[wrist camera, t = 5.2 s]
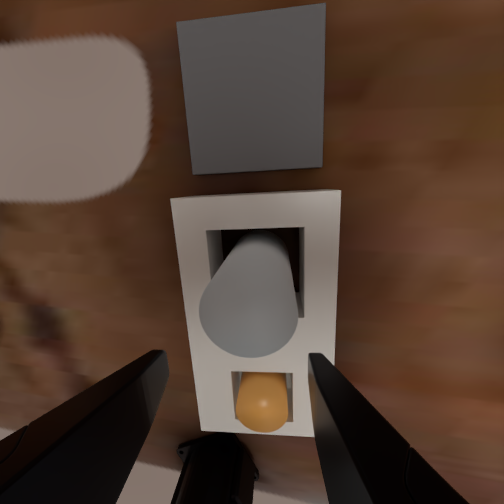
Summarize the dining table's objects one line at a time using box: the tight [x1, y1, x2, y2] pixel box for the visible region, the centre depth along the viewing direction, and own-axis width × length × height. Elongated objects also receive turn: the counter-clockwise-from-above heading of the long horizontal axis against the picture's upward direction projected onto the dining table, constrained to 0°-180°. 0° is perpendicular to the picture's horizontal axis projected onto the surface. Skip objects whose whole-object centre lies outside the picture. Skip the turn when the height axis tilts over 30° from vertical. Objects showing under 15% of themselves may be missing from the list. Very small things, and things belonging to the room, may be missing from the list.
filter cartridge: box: [199, 230, 298, 358], centre depth 15 cm, size 4×4×9 cm
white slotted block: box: [170, 189, 341, 437], centre depth 19 cm, size 10×18×4 cm, turn 3°
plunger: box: [236, 371, 288, 433], centre depth 19 cm, size 4×4×4 cm
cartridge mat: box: [176, 3, 326, 175], centre depth 16 cm, size 9×9×1 cm
